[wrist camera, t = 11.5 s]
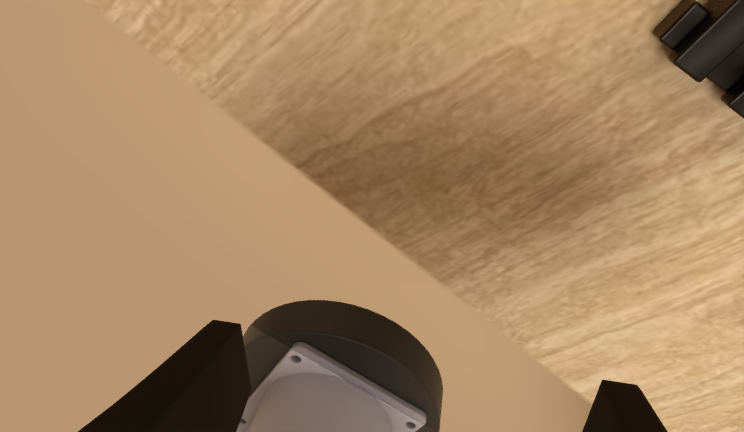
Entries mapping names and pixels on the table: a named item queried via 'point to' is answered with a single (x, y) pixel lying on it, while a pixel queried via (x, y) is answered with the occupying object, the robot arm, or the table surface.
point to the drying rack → (709, 46)
